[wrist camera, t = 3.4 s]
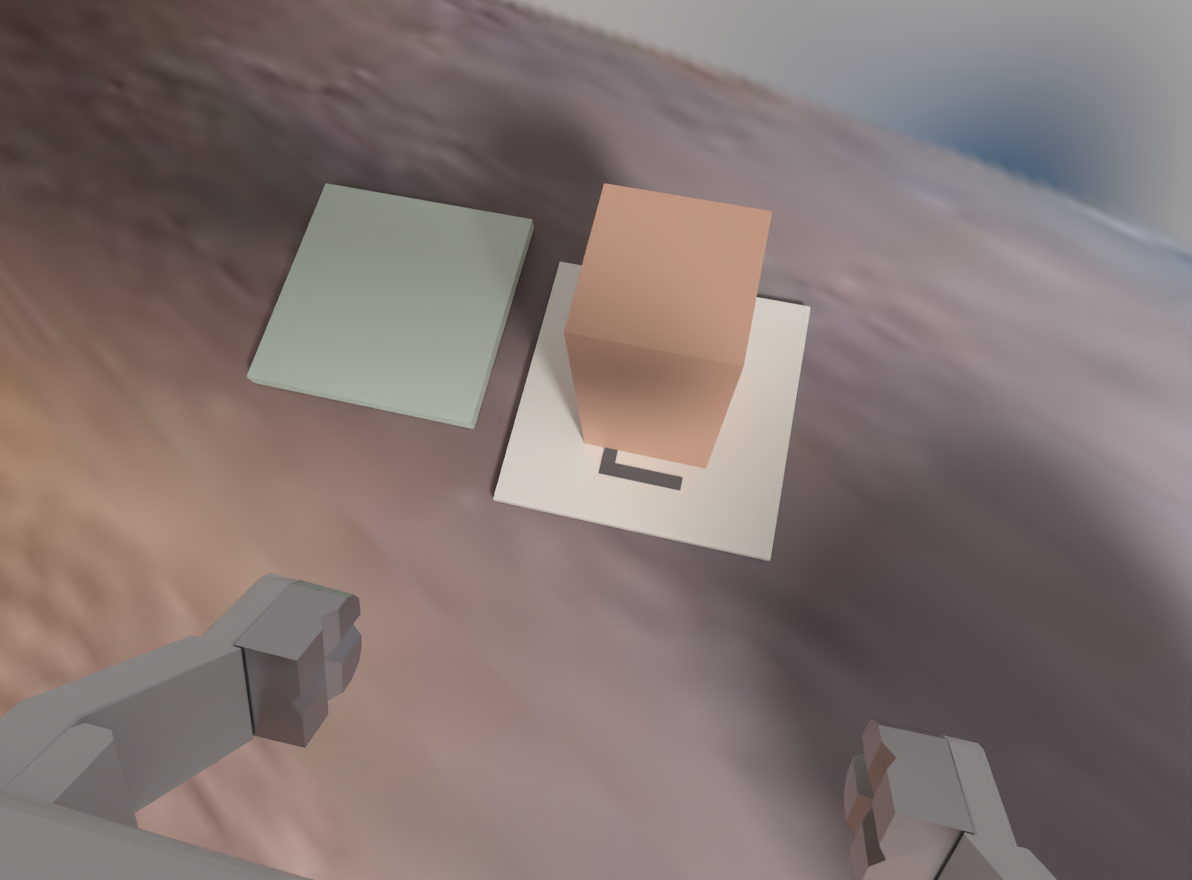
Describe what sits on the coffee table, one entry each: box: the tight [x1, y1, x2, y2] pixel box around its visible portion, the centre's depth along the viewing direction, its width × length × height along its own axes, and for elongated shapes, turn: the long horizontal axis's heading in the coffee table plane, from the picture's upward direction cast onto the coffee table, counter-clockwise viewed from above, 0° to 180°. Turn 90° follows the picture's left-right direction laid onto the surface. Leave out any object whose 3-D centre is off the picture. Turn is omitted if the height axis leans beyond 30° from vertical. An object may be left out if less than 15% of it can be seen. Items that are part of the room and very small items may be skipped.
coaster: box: [247, 183, 534, 429], centre depth 29 cm, size 9×9×1 cm
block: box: [564, 183, 772, 468], centre depth 23 cm, size 4×4×9 cm
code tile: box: [493, 262, 811, 561], centre depth 27 cm, size 10×10×1 cm
